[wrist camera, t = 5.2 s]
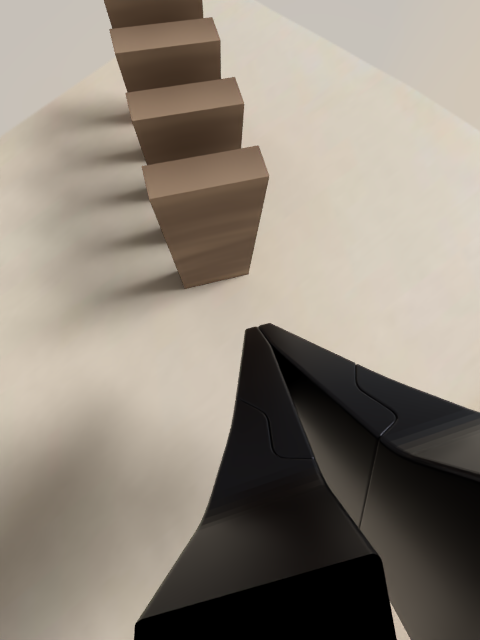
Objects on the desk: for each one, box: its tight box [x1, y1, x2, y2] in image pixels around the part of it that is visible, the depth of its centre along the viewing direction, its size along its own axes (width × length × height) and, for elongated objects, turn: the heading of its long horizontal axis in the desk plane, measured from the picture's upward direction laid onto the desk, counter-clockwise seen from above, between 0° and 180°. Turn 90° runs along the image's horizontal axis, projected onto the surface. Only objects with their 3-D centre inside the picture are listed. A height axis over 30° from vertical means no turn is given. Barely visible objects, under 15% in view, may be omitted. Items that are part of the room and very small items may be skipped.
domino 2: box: [126, 77, 244, 165], centre depth 17 cm, size 2×5×10 cm, turn 105°
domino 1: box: [142, 146, 269, 289], centre depth 16 cm, size 2×5×10 cm, turn 105°
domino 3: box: [110, 17, 221, 92], centre depth 18 cm, size 2×5×10 cm, turn 106°
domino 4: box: [104, 0, 203, 29], centre depth 18 cm, size 2×5×10 cm, turn 106°
